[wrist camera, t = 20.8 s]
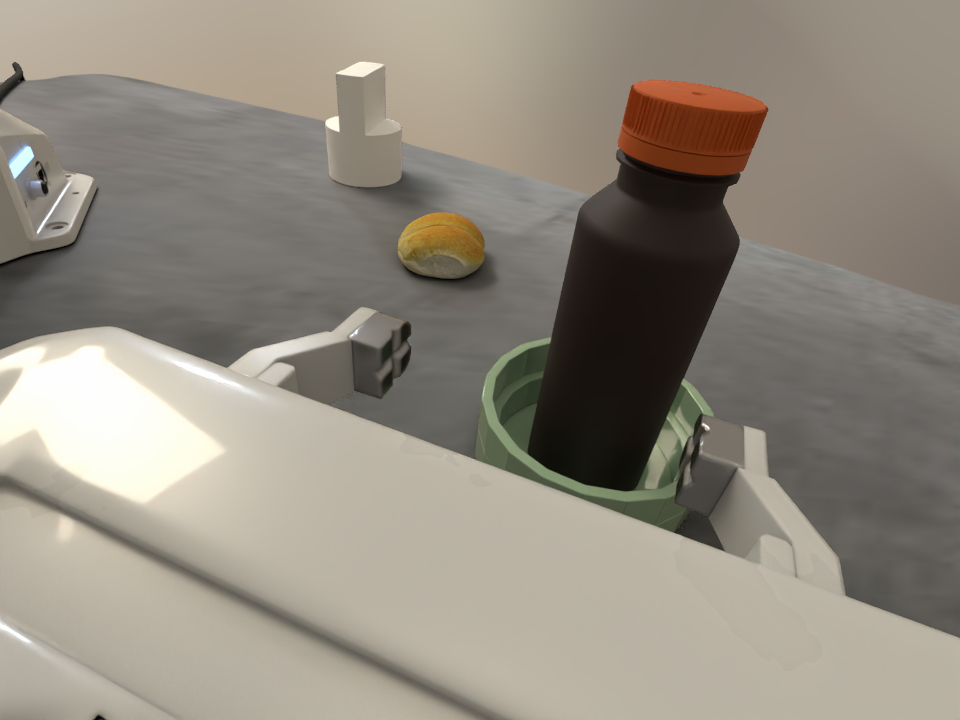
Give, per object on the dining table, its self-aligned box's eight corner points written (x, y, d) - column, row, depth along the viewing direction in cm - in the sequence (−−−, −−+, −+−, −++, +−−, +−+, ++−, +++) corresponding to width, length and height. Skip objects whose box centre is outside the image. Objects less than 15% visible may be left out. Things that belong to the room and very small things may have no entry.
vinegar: (512, 483, 30) (591, 94, 18) (542, 408, 35) (619, 67, 23) (633, 524, 28) (810, 132, 16) (645, 440, 34) (787, 94, 21)
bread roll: (483, 242, 55) (487, 205, 53) (482, 285, 48) (487, 244, 46) (403, 234, 55) (403, 196, 53) (391, 276, 48) (391, 235, 45)
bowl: (460, 399, 36) (465, 339, 33) (635, 390, 38) (655, 333, 35) (499, 575, 26) (512, 512, 23) (730, 547, 29) (770, 487, 26)
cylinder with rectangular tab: (343, 159, 72) (337, 57, 64) (408, 168, 71) (410, 67, 64) (317, 181, 64) (307, 70, 57) (390, 191, 64) (389, 81, 57)
